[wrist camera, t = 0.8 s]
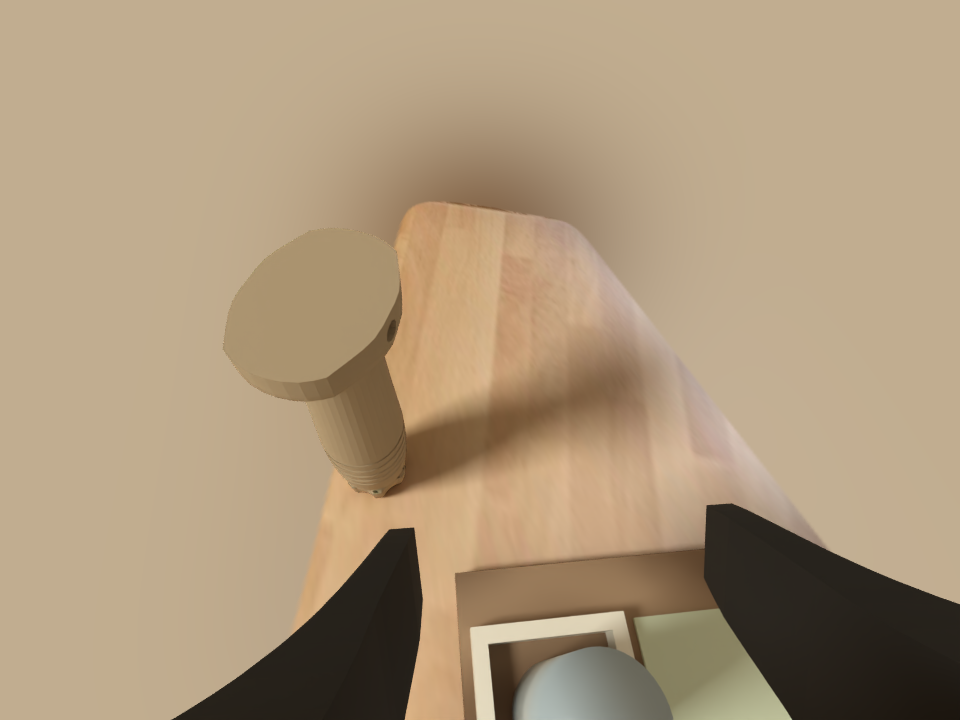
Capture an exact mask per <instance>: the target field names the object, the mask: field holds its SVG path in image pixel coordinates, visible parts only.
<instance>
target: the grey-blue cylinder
mask: <svg viewBox="0 0 960 720" xmlns="http://www.w3.org/2000/svg"><path fill="white" fill-rule="evenodd" d="M512 720H673V716H672V712H671V709H670V706H669V704H668V701H667V699H666V697H665V695H664V693H663V691H662V689H661V687H660V686H659V684H658V683H657V681H656V680H655V679H654V677H653V676H652V675H651V674H650V673H649V671H648V670H647V669H646V668H645V667H644V666H643V665H642V664H640V663H639V662H638V661H637V660H635V659H634V658H632V657H631V656H629V655H627V654H626V653H624V652H621V651H619V650H616V649H613V648H609V647H601V646H598V647H588V648H583V649H580V650H577V651H573V652H570V653H567V654H564V655H560V656H557V657H554V658H551V659H547V660H544V661H541V662H539V663H537V664H535V665H533V666H532V667H531V668H530V669H528V670H527V671H526V672H525V674H524V675H523V676H522V678H521V679H520V681H519V683H518V685H517V687H516V690H515V693H514V696H513V702H512Z"/></svg>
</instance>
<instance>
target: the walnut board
mask: <svg viewBox="0 0 960 720" xmlns="http://www.w3.org/2000/svg"><path fill="white" fill-rule="evenodd" d="M704 557H705V549H698V550H688V551H677V552H667V553H657V554H647V555H637V556H626V557H616V558H606V559H596V560H586V561H575V562H565V563H555V564H545V565H535V566H524V567H514V568H504V569H494V570H484V571H473V572H463V573H455V583H456V598H457V614H458V629H459V644H460V660H461V675H462V690H463V705H464V720H477V717H476V704H475V691H474V678H473V665H472V652H471V639H470V628H471V627H479V626H488V625H497V624H506V623H515V622H524V621H534V620H543V619H552V618H561V617H570V616H579V615H589V614H598V613H607V612H616V611H624V615H625V619H626V624H627V628H628V632H629V636H630V640H631V645H632V649H633V653H634V657H635V660H637V661H638V662H639V663H640V664H642V665H643V666H644V662H643V658H642V654H641V650H640V646H639V642H638V638H637V634H636V630H635V626H634V622H633V618H636V617H645V616H655V615H664V614H673V613H682V612H691V611H700V610H709V609H718V608H719V607H718V606H717V604H716V602H715V600H714V598H713V596H712V594H711V592H710V590H709V588H708V586H707V583H706V581H705V579H704ZM598 646H601V647H608V642H607V637H606V633H596V634H587V635H578V636H569V637H560V638H552V639H543V640H534V641H525V642H516V643H507V644H498V645H490V646H488V649H489V659H490V670H491V680H492V691H493V702H494V712H495V720H512V702H513V696H514V693H515V690H516V687H517V685H518V683H519V681H520V679H521V678H522V676H523V675H524V674H525V672H526V671H527V670H528V669H530V668H531V667H532V666H533V665H535V664H537V663H539V662H541V661H544V660H547V659H551V658H554V657H557V656H560V655H564V654H567V653H570V652H573V651H577V650H580V649H583V648H588V647H598ZM644 667H645V666H644Z"/></svg>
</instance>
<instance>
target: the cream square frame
mask: <svg viewBox="0 0 960 720" xmlns="http://www.w3.org/2000/svg"><path fill="white" fill-rule="evenodd" d="M596 633H606V637H607V642H608V647H609V648H613V649H616V650H619V651H621V652H624V653H626V654H627V655H629V656H631V657H632V658H634V659H635V657H634V653H633V649H632V645H631V640H630V636H629V632H628V628H627V624H626V619H625V615H624V611H616V612H607V613H598V614H589V615H579V616H570V617H561V618H552V619H543V620H534V621H524V622H515V623H506V624H497V625H488V626H479V627H471V628H470V639H471V652H472V665H473V678H474V691H475V704H476V717H477V720H495V712H494V702H493V691H492V680H491V670H490V659H489V649H488V646H490V645H498V644H507V643H516V642H525V641H534V640H543V639H552V638H560V637H569V636H578V635H587V634H596Z"/></svg>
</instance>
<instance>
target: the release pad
mask: <svg viewBox="0 0 960 720" xmlns="http://www.w3.org/2000/svg"><path fill="white" fill-rule="evenodd" d="M633 622H634V626H635V630H636V634H637V638H638V642H639V646H640V650H641V654H642V658H643V662H644V666H645V668H646V669H647V670H648V671H649V673H650V674H651V675H652V676H653V677H654V679H655V680H656V681H657V683H658V684H659V686H660V687H661V689H662V691H663V693H664V695H665V697H666V699H667V701H668V704H669V706H670V709H671V712H672V716H673V720H792V719H791V717H790V716H789V714H788V712H787V711H786V709H785V708H784V706H783V705H782V704H781V702H780V701H779V699H778V698H777V696H776V695H775V693H774V692H773V690H772V689H771V687H770V686H769V684H768V683H767V681H766V680H765V678H764V677H763V675H762V674H761V673H760V671H759V670H758V668H757V667H756V665H755V664H754V662H753V661H752V659H751V658H750V656H749V655H748V653H747V652H746V650H745V649H744V647H743V646H742V644H741V643H740V641H739V640H738V638H737V637H736V635H735V634H734V632H733V631H732V629H731V628H730V626H729V625H728V623H727V622H726V620H725V619H724V617H723V615H722V613H721V611H720V609H719V608H718V609H709V610H700V611H691V612H682V613H673V614H664V615H655V616H645V617H636V618H633Z"/></svg>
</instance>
